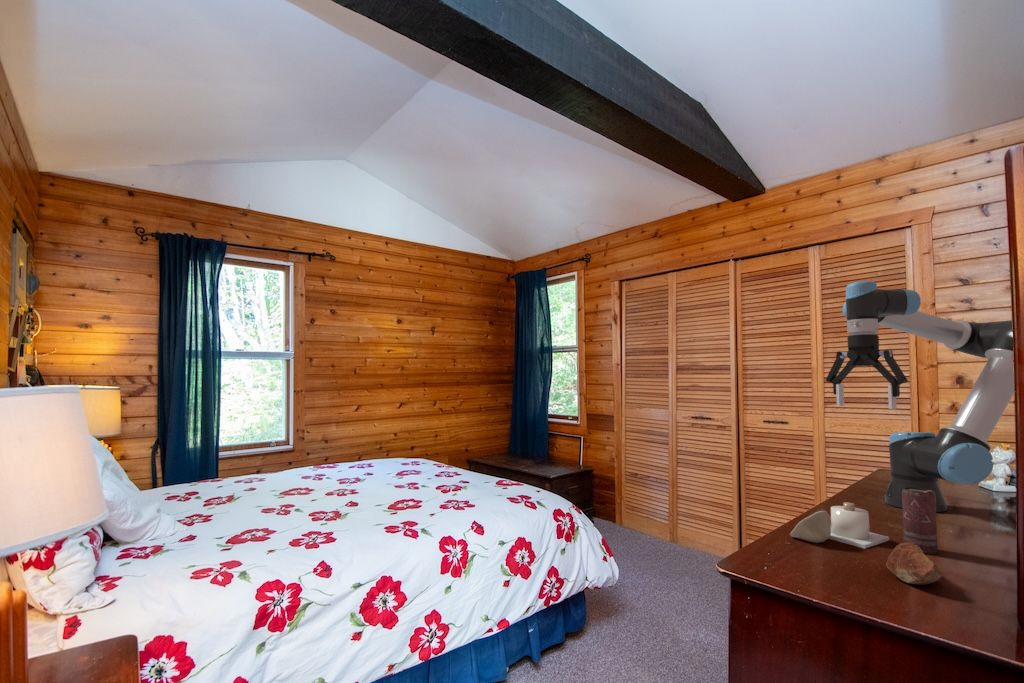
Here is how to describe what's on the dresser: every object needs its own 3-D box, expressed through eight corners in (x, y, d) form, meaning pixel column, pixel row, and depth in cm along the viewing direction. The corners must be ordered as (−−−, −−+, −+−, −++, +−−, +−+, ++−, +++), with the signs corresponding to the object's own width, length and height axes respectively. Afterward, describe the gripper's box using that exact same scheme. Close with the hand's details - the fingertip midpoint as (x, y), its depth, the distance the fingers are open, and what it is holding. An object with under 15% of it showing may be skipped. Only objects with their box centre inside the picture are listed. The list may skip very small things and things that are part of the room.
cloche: (842, 527, 131) (840, 498, 132) (876, 536, 124) (874, 505, 125) (824, 531, 127) (823, 501, 128) (859, 541, 120) (857, 509, 121)
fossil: (888, 546, 109) (910, 516, 104) (933, 572, 104) (959, 542, 99) (874, 583, 101) (898, 552, 96) (922, 613, 96) (950, 582, 91)
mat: (837, 527, 134) (837, 524, 134) (889, 540, 124) (889, 537, 124) (812, 534, 128) (812, 531, 128) (864, 548, 118) (864, 545, 118)
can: (945, 555, 114) (942, 493, 114) (913, 553, 115) (911, 491, 116) (928, 546, 119) (926, 487, 120) (899, 544, 121) (896, 486, 122)
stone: (792, 537, 130) (814, 506, 130) (818, 556, 125) (841, 523, 125) (787, 533, 122) (810, 500, 122) (815, 553, 117) (839, 519, 117)
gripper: (812, 336, 155) (814, 405, 153) (907, 330, 133) (910, 410, 132) (825, 337, 159) (827, 404, 157) (919, 332, 137) (923, 409, 136)
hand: (865, 407), depth 145 cm, fingers open, 13 cm apart
